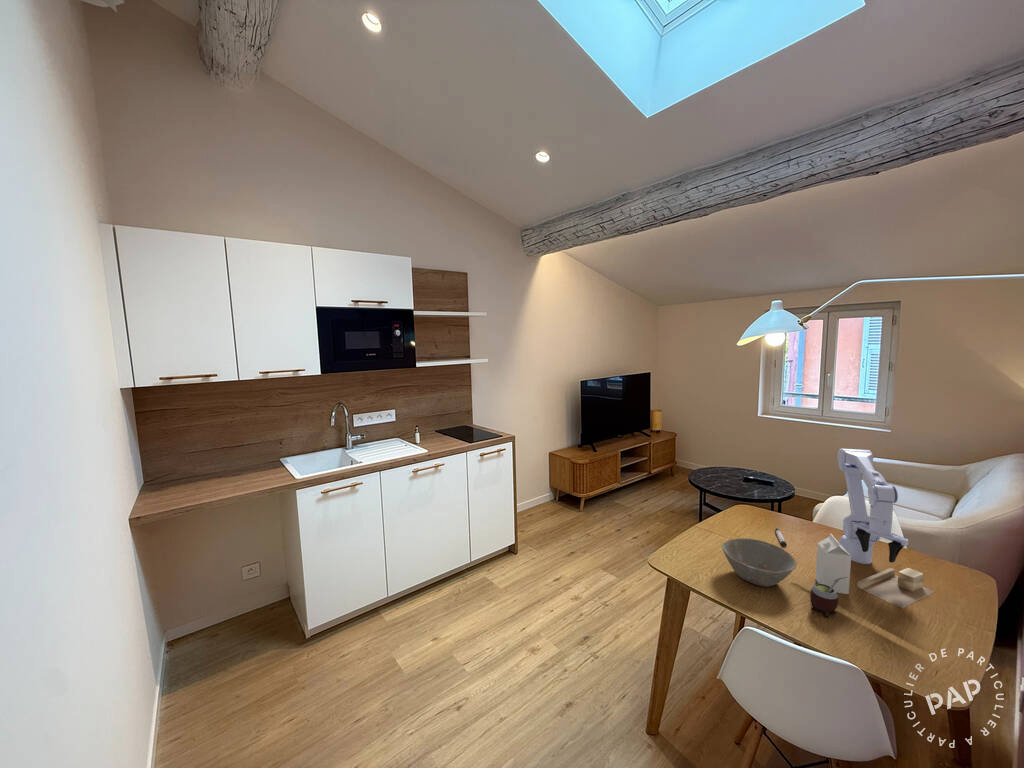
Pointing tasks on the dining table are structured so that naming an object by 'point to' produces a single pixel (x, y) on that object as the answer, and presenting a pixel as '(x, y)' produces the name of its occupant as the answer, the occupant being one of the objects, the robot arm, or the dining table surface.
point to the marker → (780, 537)
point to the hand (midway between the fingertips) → (878, 556)
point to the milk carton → (833, 564)
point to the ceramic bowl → (758, 561)
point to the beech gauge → (910, 579)
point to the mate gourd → (824, 598)
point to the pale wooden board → (891, 589)
